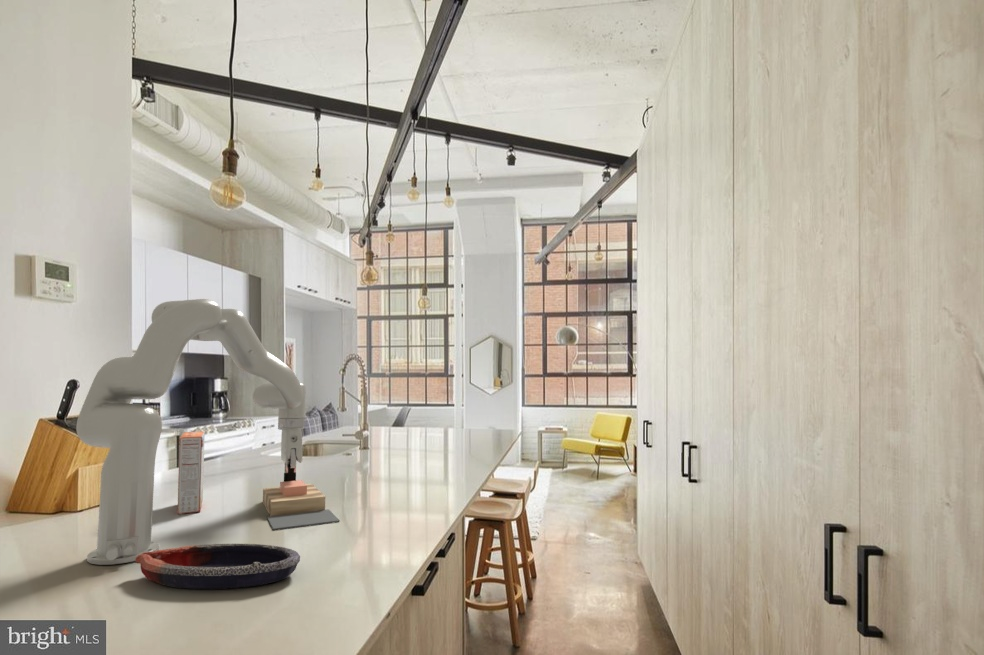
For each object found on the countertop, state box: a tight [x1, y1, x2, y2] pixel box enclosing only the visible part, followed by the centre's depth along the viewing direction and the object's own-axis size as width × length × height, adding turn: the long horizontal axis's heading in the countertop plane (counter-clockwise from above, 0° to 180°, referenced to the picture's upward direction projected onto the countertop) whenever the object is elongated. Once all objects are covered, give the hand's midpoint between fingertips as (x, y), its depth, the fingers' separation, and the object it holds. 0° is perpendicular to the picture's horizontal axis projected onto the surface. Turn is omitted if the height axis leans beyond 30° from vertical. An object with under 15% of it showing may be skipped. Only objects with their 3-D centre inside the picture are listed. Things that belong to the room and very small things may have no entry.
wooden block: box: [262, 483, 326, 516], centre depth 159 cm, size 20×14×4 cm
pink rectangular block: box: [279, 479, 307, 496], centre depth 159 cm, size 9×6×2 cm, turn 28°
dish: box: [134, 543, 301, 590], centre depth 104 cm, size 16×31×5 cm, turn 85°
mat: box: [266, 509, 341, 531], centre depth 144 cm, size 13×16×1 cm
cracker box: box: [177, 430, 206, 515], centre depth 158 cm, size 14×6×21 cm, turn 25°
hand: (289, 485), depth 165 cm, fingers closed
